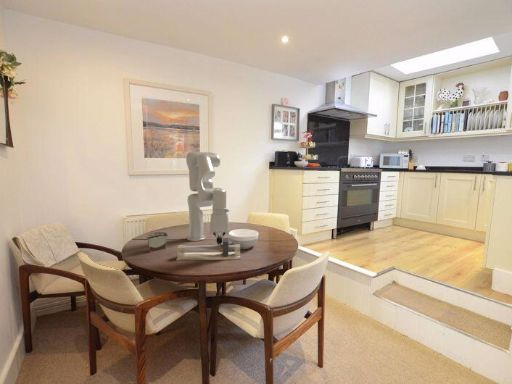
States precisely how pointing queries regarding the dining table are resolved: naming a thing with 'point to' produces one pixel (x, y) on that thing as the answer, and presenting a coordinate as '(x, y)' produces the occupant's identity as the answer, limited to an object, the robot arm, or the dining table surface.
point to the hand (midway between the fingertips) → (219, 243)
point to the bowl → (243, 237)
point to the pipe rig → (207, 255)
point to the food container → (157, 241)
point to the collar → (225, 246)
